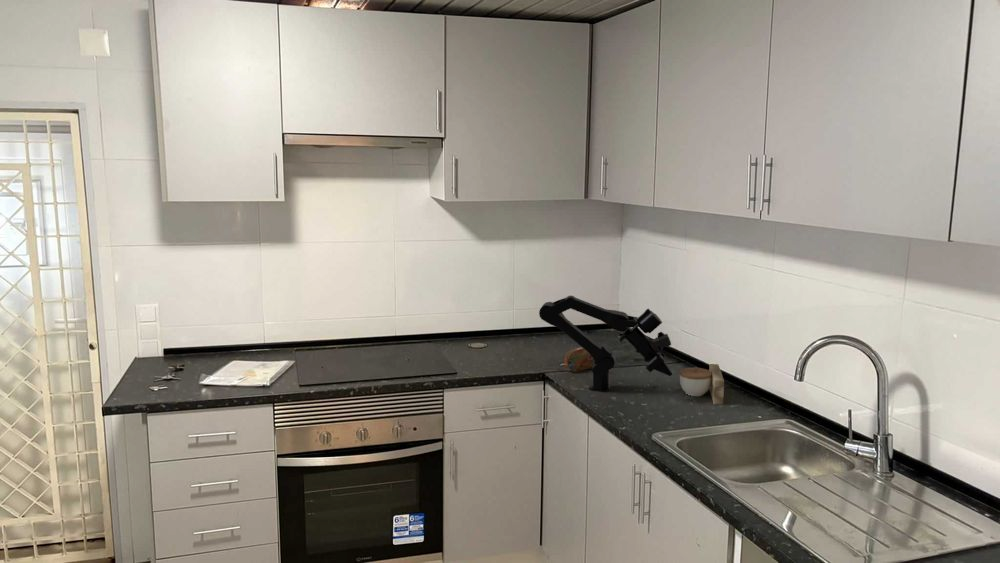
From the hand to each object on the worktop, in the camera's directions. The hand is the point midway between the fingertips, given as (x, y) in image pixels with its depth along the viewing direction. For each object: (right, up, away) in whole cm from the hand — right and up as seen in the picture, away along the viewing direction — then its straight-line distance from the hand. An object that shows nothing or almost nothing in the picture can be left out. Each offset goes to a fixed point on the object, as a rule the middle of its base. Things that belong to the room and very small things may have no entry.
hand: (671, 374), depth 256 cm
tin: (-28, -2, +30) cm, 41 cm away
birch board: (+15, -7, -2) cm, 16 cm away
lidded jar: (+8, -7, -1) cm, 10 cm away
